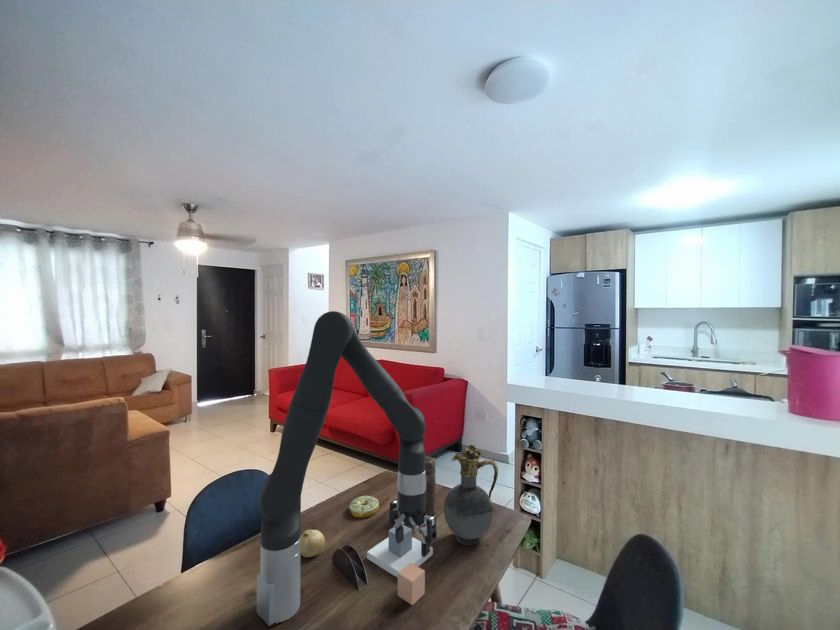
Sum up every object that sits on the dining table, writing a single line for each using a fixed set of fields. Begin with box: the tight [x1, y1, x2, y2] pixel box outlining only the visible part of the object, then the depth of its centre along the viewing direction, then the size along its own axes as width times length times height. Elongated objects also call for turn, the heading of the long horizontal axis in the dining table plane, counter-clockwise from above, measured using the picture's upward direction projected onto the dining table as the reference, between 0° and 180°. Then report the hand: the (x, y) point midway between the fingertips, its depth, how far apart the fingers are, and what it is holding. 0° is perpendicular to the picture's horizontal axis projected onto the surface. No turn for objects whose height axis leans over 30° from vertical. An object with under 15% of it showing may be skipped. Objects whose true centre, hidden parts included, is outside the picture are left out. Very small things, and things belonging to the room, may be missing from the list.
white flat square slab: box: [366, 536, 434, 579], centre depth 109 cm, size 14×14×2 cm
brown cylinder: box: [425, 455, 437, 516], centre depth 133 cm, size 8×7×20 cm
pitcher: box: [443, 444, 499, 546], centre depth 118 cm, size 11×19×30 cm, turn 113°
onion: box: [300, 528, 326, 558], centre depth 110 cm, size 8×8×7 cm
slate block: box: [388, 524, 413, 558], centre depth 109 cm, size 5×5×6 cm
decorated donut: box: [348, 495, 380, 519], centre depth 133 cm, size 10×11×4 cm
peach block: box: [397, 563, 426, 606], centre depth 94 cm, size 5×5×6 cm
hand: (412, 548), depth 94 cm, fingers open, 8 cm apart
